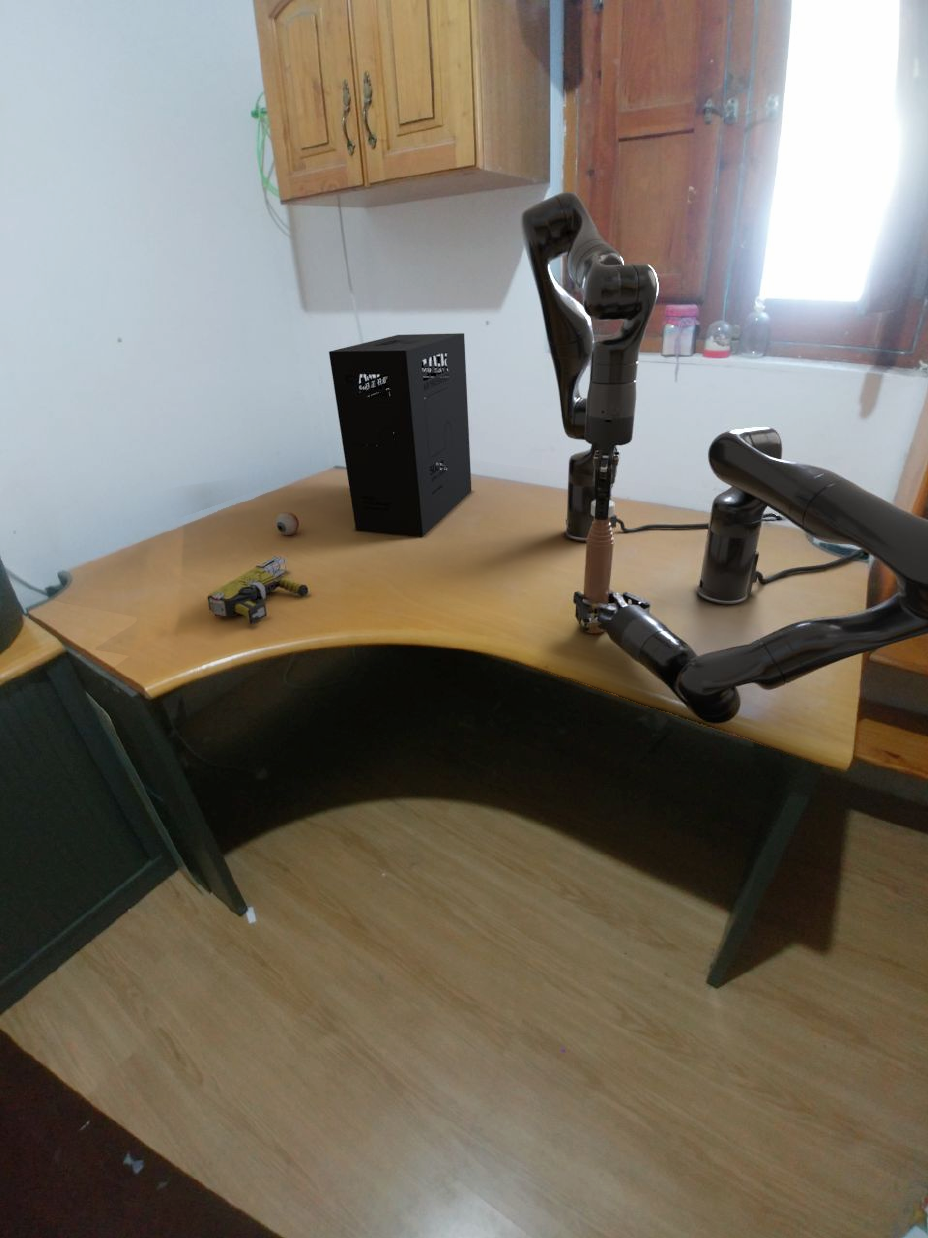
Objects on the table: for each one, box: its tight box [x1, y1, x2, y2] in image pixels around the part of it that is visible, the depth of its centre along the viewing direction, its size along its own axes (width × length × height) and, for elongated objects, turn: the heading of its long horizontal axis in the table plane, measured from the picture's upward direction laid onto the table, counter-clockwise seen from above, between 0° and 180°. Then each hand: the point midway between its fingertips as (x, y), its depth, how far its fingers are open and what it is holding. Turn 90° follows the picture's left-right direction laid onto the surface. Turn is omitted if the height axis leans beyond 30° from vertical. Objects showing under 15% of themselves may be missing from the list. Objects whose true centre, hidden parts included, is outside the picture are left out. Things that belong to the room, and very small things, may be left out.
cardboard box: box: [328, 332, 472, 537], centre depth 166 cm, size 38×20×45 cm, turn 159°
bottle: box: [582, 516, 615, 634], centre depth 109 cm, size 5×5×24 cm
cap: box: [591, 500, 616, 517], centre depth 103 cm, size 4×4×2 cm
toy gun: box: [206, 555, 309, 625], centre depth 131 cm, size 5×24×15 cm
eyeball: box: [275, 511, 300, 536], centre depth 163 cm, size 6×6×6 cm
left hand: (602, 514), depth 104 cm, fingers closed on cap, 4 cm apart
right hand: (588, 593), depth 114 cm, fingers closed on bottle, 4 cm apart
